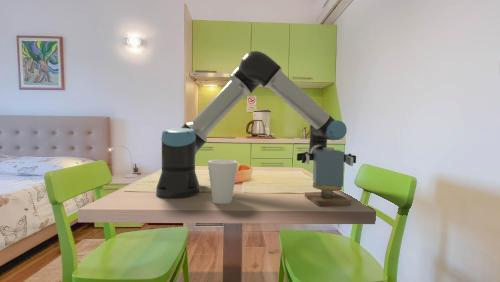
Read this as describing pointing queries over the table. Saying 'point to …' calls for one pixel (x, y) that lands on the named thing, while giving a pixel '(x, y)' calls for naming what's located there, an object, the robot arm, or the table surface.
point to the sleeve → (328, 168)
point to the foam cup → (222, 180)
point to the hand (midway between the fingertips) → (329, 160)
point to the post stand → (327, 193)
